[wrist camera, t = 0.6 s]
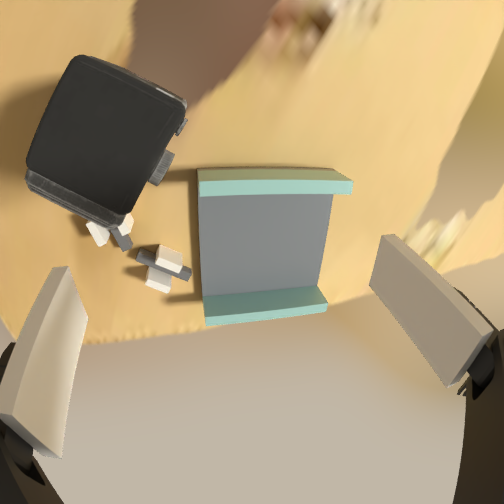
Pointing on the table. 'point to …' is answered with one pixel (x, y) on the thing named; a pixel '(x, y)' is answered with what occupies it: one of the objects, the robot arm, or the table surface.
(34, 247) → the table surface
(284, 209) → the dock
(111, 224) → the camera
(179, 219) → the table surface
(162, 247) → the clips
